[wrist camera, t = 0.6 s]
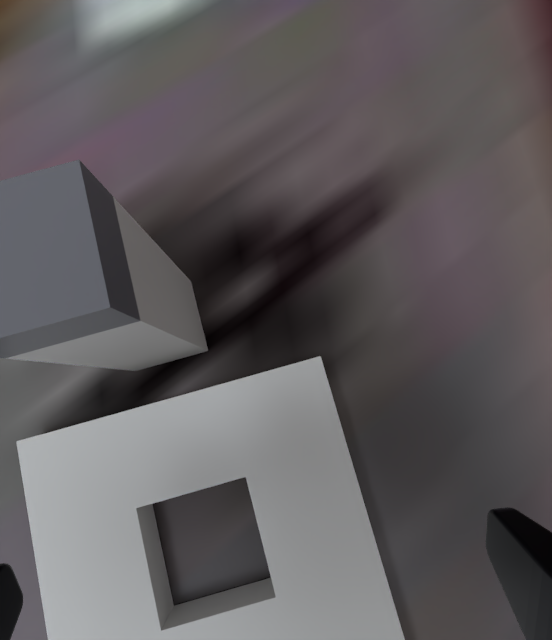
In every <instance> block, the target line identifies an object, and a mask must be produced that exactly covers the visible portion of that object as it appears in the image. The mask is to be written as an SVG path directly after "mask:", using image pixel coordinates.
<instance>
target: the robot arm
mask: <svg viewBox="0 0 552 640" xmlns="http://www.w3.org/2000/svg"><path fill="white" fill-rule="evenodd" d="M486 549H487V553H488V556H489V558H490V561H491V563H492V565H493V567H494V569H495V572H496V574H497V576H498V578H499V581H500V583H501V585H502V587H503V589H504V592H505V594H506V596H507V598H508V601H509V603H510V605H511V607H512V609H513V612H514V614H515V616H516V618H517V621H518V623H519V625H520V627H521V630H522V632H523V634H524V636H525V638H526V640H552V532H550V531H549V530H547V529H546V528H544V527H542V526H541V525H539V524H538V523H536V522H535V521H533V520H532V519H530V518H528V517H527V516H525V515H524V514H522V513H521V512H519V511H517V510H516V509H513V508H500V509H492V510H490V511H489V513H488V518H487V532H486ZM22 605H23V594H22V591H21V588H20V586H19V584H18V581H17V579H16V576H15V574H14V572H13V569H12V567H11V566H10V565H8V564H5V563H3V564H0V640H10V639H11V636H12V634H13V631H14V628H15V625H16V623H17V620H18V617H19V615H20V612H21V609H22Z"/></svg>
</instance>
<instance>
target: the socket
mask: <svg viewBox="0 0 552 640" xmlns="http://www.w3.org/2000/svg"><path fill="white" fill-rule="evenodd" d="M17 448H18V454H19V461H20V467H21V473H22V479H23V486H24V492H25V498H26V504H27V511H28V517H29V523H30V529H31V536H32V542H33V548H34V554H35V561H36V567H37V573H38V580H39V586H40V592H41V598H42V605H43V611H44V617H45V623H46V630H47V636H48V640H405V639H404V635H403V632H402V629H401V625H400V622H399V618H398V615H397V612H396V608H395V605H394V602H393V598H392V595H391V592H390V588H389V585H388V581H387V578H386V575H385V571H384V568H383V565H382V561H381V558H380V554H379V551H378V548H377V544H376V541H375V538H374V534H373V531H372V528H371V524H370V521H369V517H368V514H367V511H366V507H365V504H364V501H363V497H362V494H361V490H360V487H359V484H358V480H357V477H356V474H355V470H354V467H353V464H352V460H351V457H350V453H349V450H348V447H347V443H346V440H345V437H344V433H343V430H342V426H341V423H340V420H339V416H338V413H337V410H336V406H335V403H334V400H333V396H332V393H331V389H330V386H329V383H328V379H327V376H326V373H325V369H324V366H323V362H322V359H321V356H319V357H315V358H312V359H308V360H305V361H301V362H298V363H294V364H291V365H287V366H283V367H280V368H276V369H273V370H269V371H266V372H262V373H259V374H255V375H251V376H248V377H244V378H241V379H237V380H234V381H230V382H227V383H223V384H219V385H216V386H212V387H209V388H205V389H202V390H198V391H195V392H191V393H187V394H184V395H180V396H177V397H173V398H170V399H166V400H162V401H159V402H155V403H152V404H148V405H145V406H141V407H138V408H134V409H130V410H127V411H123V412H120V413H116V414H113V415H109V416H106V417H102V418H98V419H95V420H91V421H88V422H84V423H81V424H77V425H74V426H70V427H66V428H63V429H59V430H56V431H52V432H49V433H45V434H42V435H38V436H34V437H31V438H27V439H24V440H20V441H17ZM244 477H246V480H247V484H248V488H249V492H250V496H251V500H252V504H253V508H254V512H255V516H256V520H257V524H258V528H259V532H260V536H261V540H262V544H263V548H264V552H265V556H266V560H267V564H268V568H269V572H270V576H271V578H268V579H264V580H261V581H257V582H254V583H251V584H247V585H244V586H240V587H237V588H233V589H230V590H226V591H223V592H220V593H216V594H213V595H209V596H206V597H202V598H199V599H196V600H192V601H189V602H185V603H182V604H178V605H175V606H174V604H173V599H172V594H171V589H170V585H169V580H168V575H167V570H166V566H165V561H164V556H163V551H162V547H161V542H160V537H159V533H158V528H157V523H156V518H155V514H154V509H153V503H156V502H160V501H163V500H167V499H170V498H174V497H177V496H181V495H184V494H188V493H191V492H195V491H198V490H202V489H205V488H209V487H212V486H216V485H219V484H223V483H226V482H230V481H233V480H237V479H240V478H244Z"/></svg>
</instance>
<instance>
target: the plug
mask: <svg viewBox="0 0 552 640" xmlns="http://www.w3.org/2000/svg"><path fill="white" fill-rule="evenodd" d="M206 351H208V348H207V344H206V340H205V336H204V332H203V328H202V324H201V320H200V316H199V312H198V308H197V304H196V300H195V296H194V292H193V287H192V283H191V281H190V280H189V279H188V278H187V276H186V275H185V274H184V273H183V272H182V271H181V270H180V269H179V268H178V267H177V266H176V264H175V263H174V262H173V261H172V260H171V259H170V258H169V257H168V256H167V255H166V254H165V253H164V251H163V250H162V249H161V248H160V247H159V246H158V245H157V244H156V243H155V242H154V241H153V239H152V238H151V237H150V236H149V235H148V234H147V233H146V232H145V231H144V230H143V229H142V228H141V226H140V225H139V224H138V223H137V222H136V221H135V220H134V219H133V218H132V217H131V216H130V215H129V213H128V212H127V211H126V210H125V209H124V208H123V207H122V206H121V205H120V204H119V203H118V201H117V200H116V199H115V198H114V197H113V196H112V195H111V194H110V193H109V192H108V191H107V190H106V188H105V187H104V186H103V185H102V184H101V183H100V182H99V181H98V180H97V179H96V178H95V176H94V175H93V174H92V173H91V172H90V171H89V170H88V169H87V168H86V167H85V166H84V165H83V163H82V162H81V161H80V160H76V161H72V162H69V163H65V164H61V165H58V166H54V167H50V168H46V169H43V170H39V171H35V172H32V173H28V174H24V175H20V176H17V177H13V178H9V179H6V180H2V181H0V358H7V359H17V360H28V361H38V362H48V363H59V364H69V365H79V366H90V367H100V368H110V369H121V370H131V371H138V370H141V369H145V368H148V367H152V366H156V365H159V364H163V363H166V362H170V361H174V360H177V359H181V358H184V357H188V356H191V355H195V354H199V353H202V352H206Z"/></svg>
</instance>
